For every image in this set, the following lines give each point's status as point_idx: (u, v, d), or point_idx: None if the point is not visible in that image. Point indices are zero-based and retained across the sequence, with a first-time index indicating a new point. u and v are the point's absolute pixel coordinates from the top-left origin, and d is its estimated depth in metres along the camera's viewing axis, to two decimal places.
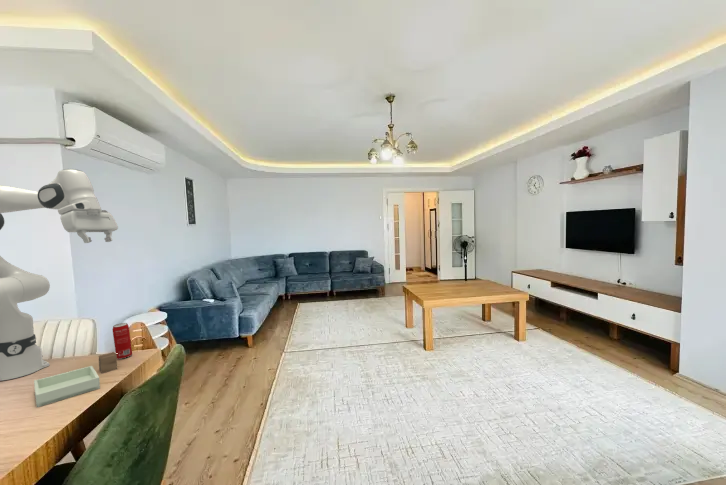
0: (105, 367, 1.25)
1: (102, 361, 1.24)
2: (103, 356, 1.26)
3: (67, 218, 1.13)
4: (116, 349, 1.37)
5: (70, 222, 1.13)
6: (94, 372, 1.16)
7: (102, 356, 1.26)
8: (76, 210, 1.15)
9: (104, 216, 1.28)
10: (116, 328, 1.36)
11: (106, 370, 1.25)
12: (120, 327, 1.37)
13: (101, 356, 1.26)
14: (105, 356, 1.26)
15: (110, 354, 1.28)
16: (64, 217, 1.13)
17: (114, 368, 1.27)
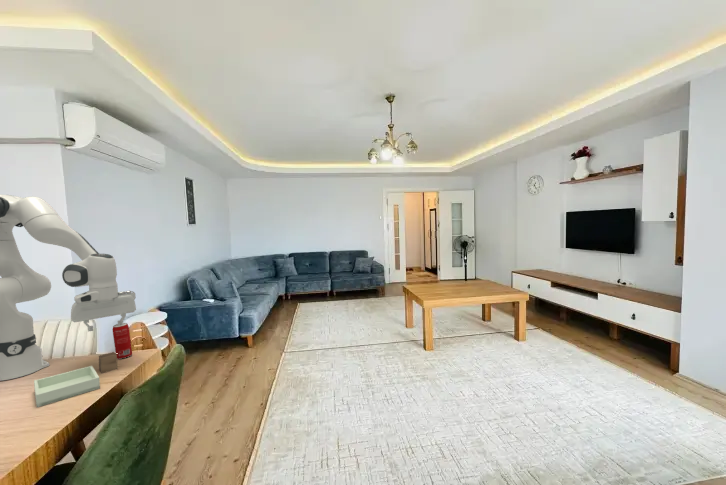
0: (105, 367, 1.25)
1: (102, 361, 1.24)
2: (103, 356, 1.26)
3: (72, 310, 1.19)
4: (116, 349, 1.37)
5: (71, 315, 1.18)
6: (94, 372, 1.16)
7: (102, 356, 1.26)
8: (80, 303, 1.19)
9: (120, 300, 1.29)
10: (116, 328, 1.36)
11: (106, 370, 1.25)
12: (120, 327, 1.37)
13: (101, 356, 1.26)
14: (105, 356, 1.26)
15: (110, 354, 1.28)
16: (72, 307, 1.20)
17: (114, 368, 1.27)
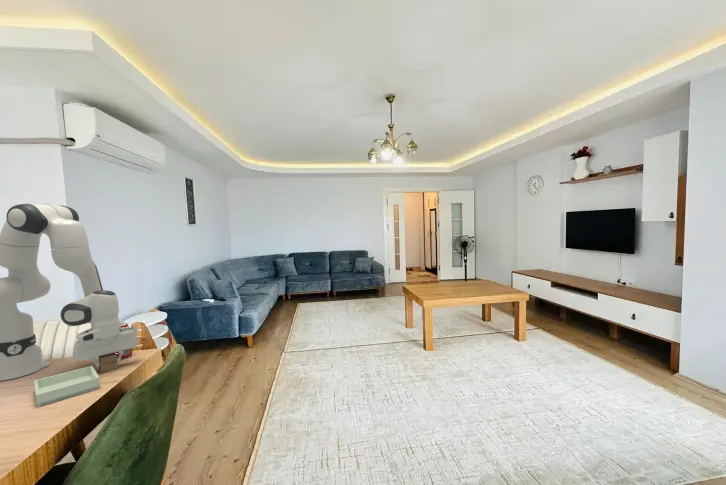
0: (105, 367, 1.25)
1: (102, 361, 1.24)
2: (103, 356, 1.26)
3: (74, 349, 1.19)
4: None
5: (74, 354, 1.19)
6: (94, 372, 1.16)
7: (102, 356, 1.26)
8: (83, 342, 1.20)
9: (122, 337, 1.29)
10: None
11: (106, 370, 1.25)
12: (120, 327, 1.37)
13: (101, 356, 1.26)
14: (105, 356, 1.26)
15: (110, 354, 1.28)
16: (74, 346, 1.20)
17: (114, 368, 1.27)
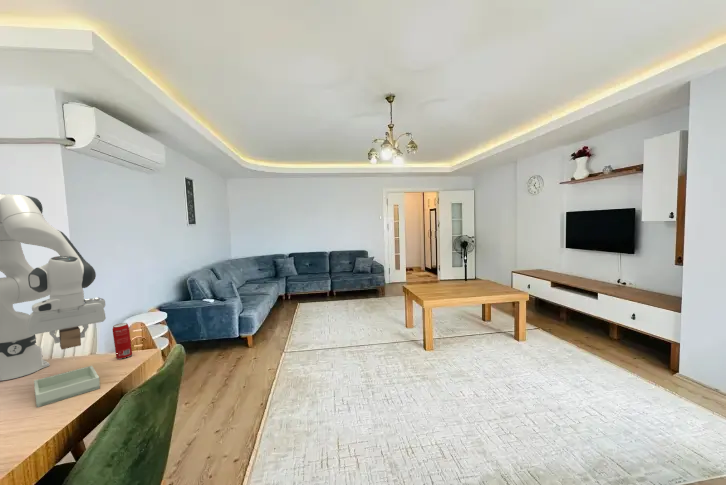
0: (66, 342, 1.10)
1: (62, 335, 1.09)
2: (64, 330, 1.11)
3: (28, 321, 1.04)
4: (116, 349, 1.37)
5: (28, 327, 1.04)
6: (94, 372, 1.16)
7: (63, 330, 1.11)
8: (38, 313, 1.05)
9: (86, 309, 1.14)
10: (116, 328, 1.36)
11: (67, 346, 1.10)
12: (120, 327, 1.37)
13: (62, 330, 1.11)
14: (66, 330, 1.11)
15: (73, 328, 1.13)
16: (29, 317, 1.05)
17: (77, 344, 1.12)
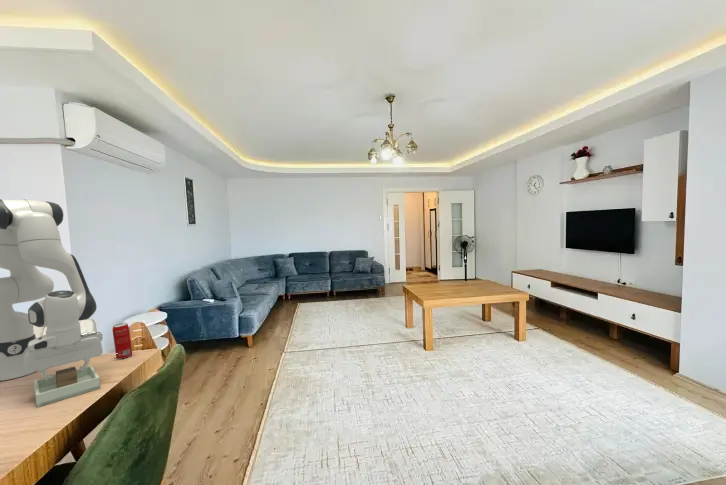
0: (63, 384, 1.08)
1: (59, 378, 1.08)
2: (61, 372, 1.10)
3: (24, 359, 1.03)
4: (116, 349, 1.37)
5: (23, 365, 1.02)
6: (94, 372, 1.16)
7: (60, 372, 1.10)
8: (34, 351, 1.03)
9: (83, 344, 1.13)
10: (116, 328, 1.36)
11: None
12: (120, 327, 1.37)
13: (58, 372, 1.10)
14: (63, 372, 1.10)
15: (69, 369, 1.12)
16: (25, 355, 1.04)
17: None
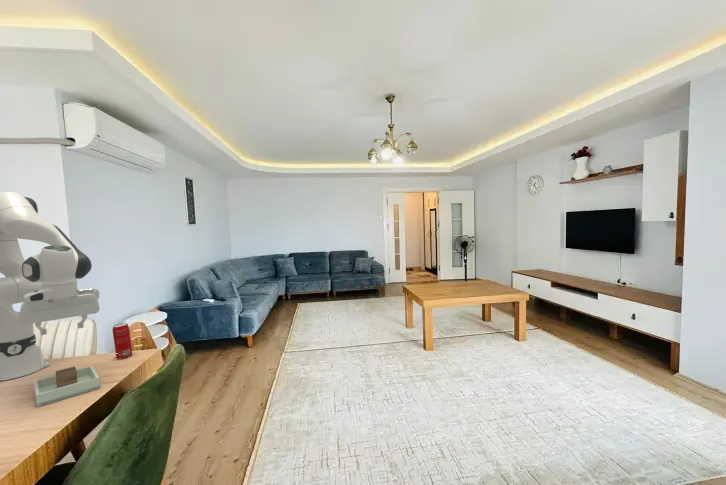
0: (63, 384, 1.08)
1: (59, 378, 1.08)
2: (61, 372, 1.10)
3: (20, 311, 1.02)
4: (116, 349, 1.37)
5: (19, 316, 1.02)
6: (94, 372, 1.16)
7: (60, 372, 1.10)
8: (30, 303, 1.03)
9: (80, 300, 1.12)
10: (116, 328, 1.36)
11: None
12: (120, 327, 1.37)
13: (58, 372, 1.10)
14: (63, 372, 1.10)
15: (69, 369, 1.12)
16: None
17: None
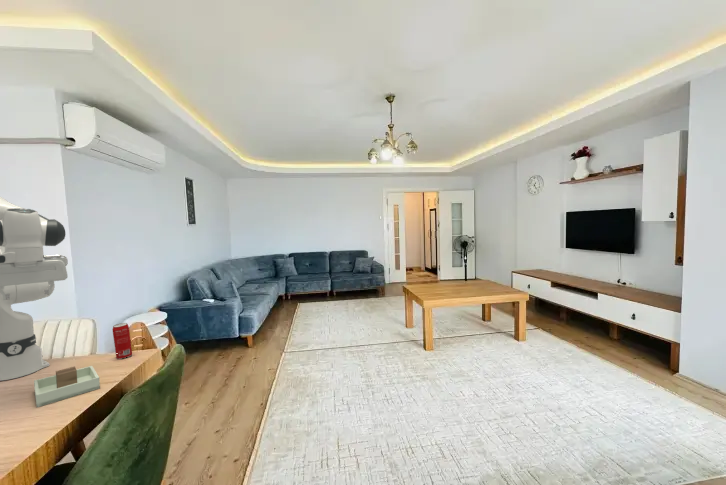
0: (63, 384, 1.08)
1: (59, 378, 1.08)
2: (61, 372, 1.10)
3: None
4: (116, 349, 1.37)
5: None
6: (94, 372, 1.16)
7: (60, 372, 1.10)
8: None
9: (46, 265, 1.09)
10: (116, 328, 1.36)
11: None
12: (120, 327, 1.37)
13: (58, 372, 1.10)
14: (63, 372, 1.10)
15: (69, 369, 1.12)
16: None
17: None
